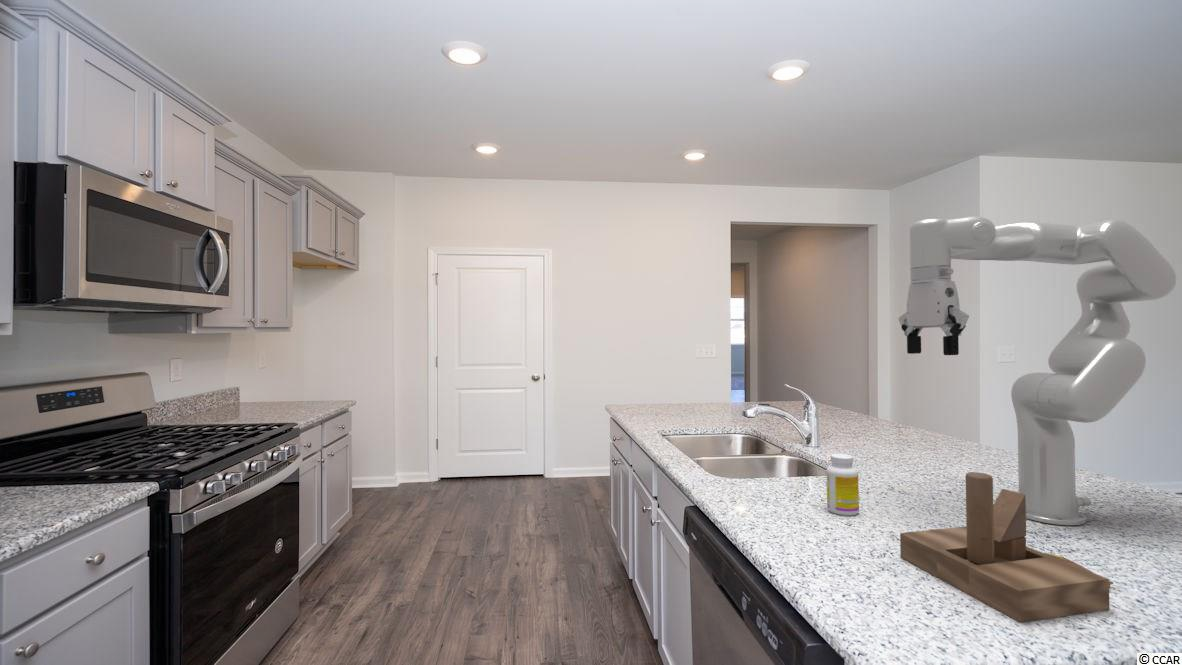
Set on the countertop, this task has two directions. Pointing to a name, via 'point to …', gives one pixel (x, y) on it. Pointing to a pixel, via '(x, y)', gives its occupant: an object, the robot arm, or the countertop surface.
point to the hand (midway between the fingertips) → (931, 354)
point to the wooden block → (994, 522)
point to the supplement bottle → (842, 486)
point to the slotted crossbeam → (1008, 577)
